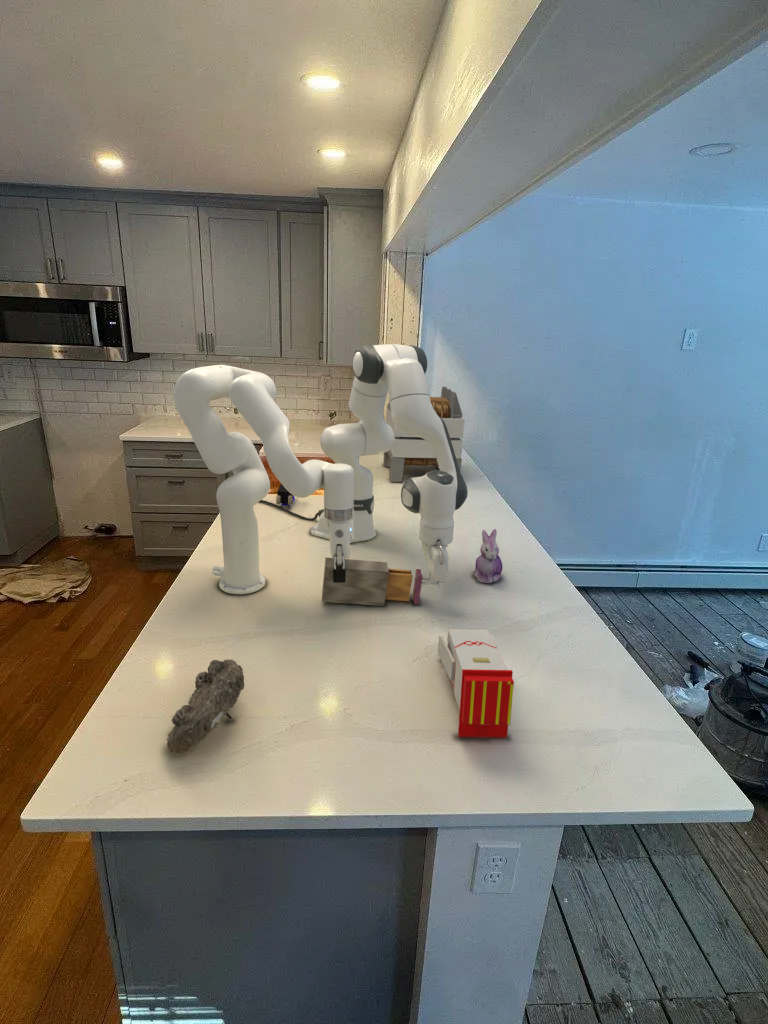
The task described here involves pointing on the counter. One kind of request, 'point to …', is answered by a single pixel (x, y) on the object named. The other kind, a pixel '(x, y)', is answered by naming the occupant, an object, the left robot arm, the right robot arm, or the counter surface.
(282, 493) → the figurine character
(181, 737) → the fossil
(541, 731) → the counter surface
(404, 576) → the drawer
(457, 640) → the toy
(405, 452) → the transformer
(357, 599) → the cabinet
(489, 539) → the figurine
